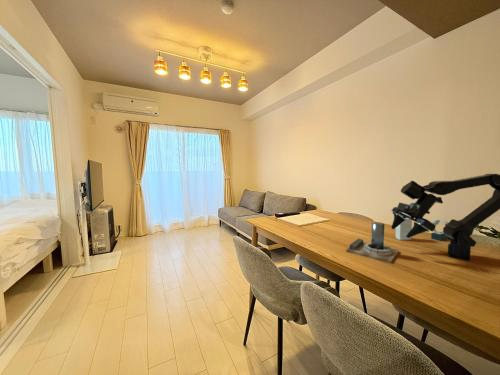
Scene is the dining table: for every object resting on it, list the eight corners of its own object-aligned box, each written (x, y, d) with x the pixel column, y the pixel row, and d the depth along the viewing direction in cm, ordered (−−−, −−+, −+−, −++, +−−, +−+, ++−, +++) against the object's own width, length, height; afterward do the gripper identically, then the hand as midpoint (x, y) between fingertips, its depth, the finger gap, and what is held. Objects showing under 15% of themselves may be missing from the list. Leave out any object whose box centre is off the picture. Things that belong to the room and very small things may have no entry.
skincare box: (406, 237, 116) (407, 216, 115) (411, 240, 112) (412, 218, 111) (395, 237, 117) (395, 216, 116) (399, 240, 112) (400, 218, 111)
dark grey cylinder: (386, 252, 94) (387, 224, 93) (376, 253, 93) (377, 225, 92) (378, 248, 99) (378, 222, 98) (368, 249, 98) (369, 222, 97)
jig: (398, 251, 97) (399, 245, 97) (390, 263, 86) (391, 256, 85) (357, 242, 110) (357, 237, 109) (346, 251, 98) (346, 245, 98)
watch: (433, 236, 117) (434, 217, 116) (451, 240, 110) (452, 220, 109) (427, 237, 115) (427, 218, 115) (444, 242, 108) (445, 221, 107)
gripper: (394, 191, 100) (373, 216, 102) (428, 202, 82) (402, 232, 84) (410, 203, 102) (389, 227, 104) (447, 216, 83) (421, 246, 86)
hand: (399, 232), depth 95 cm, fingers open, 9 cm apart
